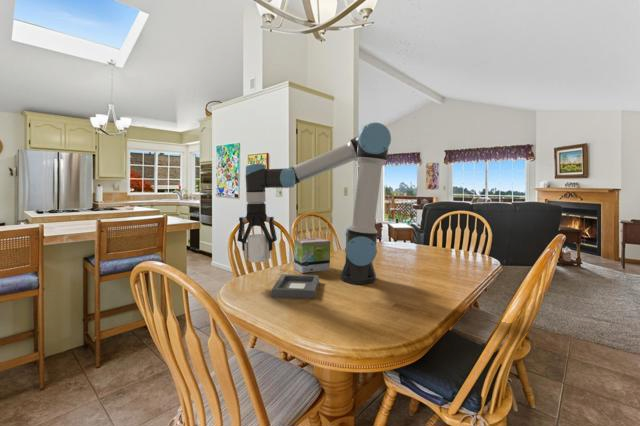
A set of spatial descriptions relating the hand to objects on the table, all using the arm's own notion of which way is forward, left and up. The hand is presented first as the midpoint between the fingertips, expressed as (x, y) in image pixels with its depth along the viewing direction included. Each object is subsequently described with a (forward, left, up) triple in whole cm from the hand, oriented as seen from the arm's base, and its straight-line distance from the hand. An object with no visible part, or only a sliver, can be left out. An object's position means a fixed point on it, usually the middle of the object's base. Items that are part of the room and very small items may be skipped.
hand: (257, 258), depth 133 cm
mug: (-1, 0, -1) cm, 2 cm away
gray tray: (-17, +3, -11) cm, 20 cm away
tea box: (-20, -27, -12) cm, 35 cm away
